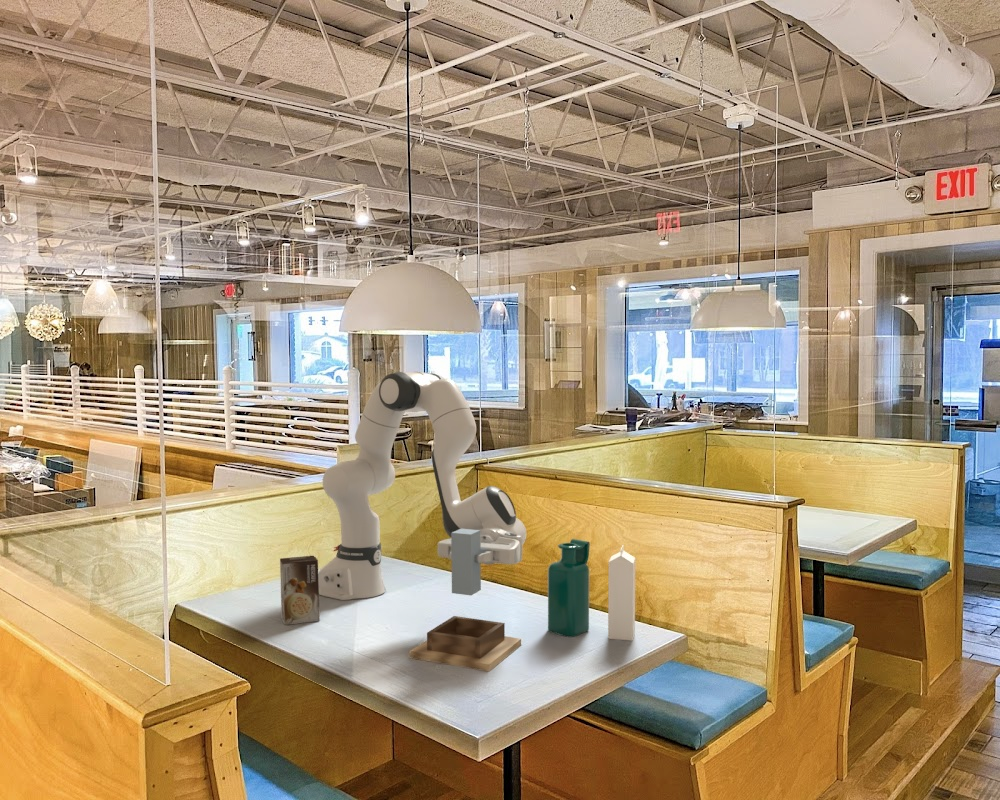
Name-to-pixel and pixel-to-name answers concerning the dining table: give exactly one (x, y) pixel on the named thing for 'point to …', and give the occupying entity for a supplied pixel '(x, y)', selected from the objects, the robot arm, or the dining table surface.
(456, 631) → the caddy
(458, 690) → the dining table surface
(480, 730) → the dining table surface
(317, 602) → the coffee box
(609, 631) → the milk
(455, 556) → the grey block
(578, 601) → the green tall squared bottle
